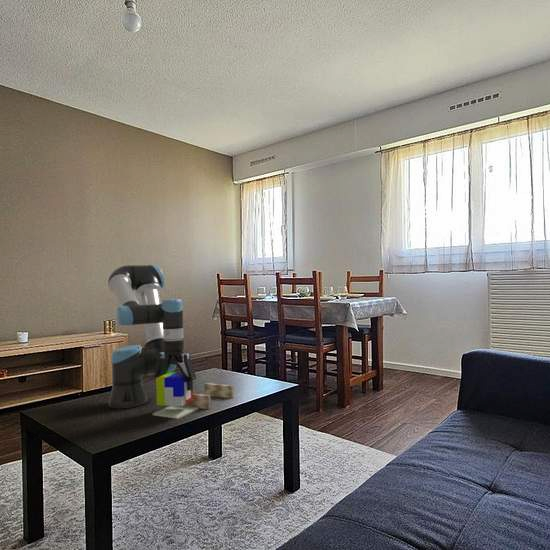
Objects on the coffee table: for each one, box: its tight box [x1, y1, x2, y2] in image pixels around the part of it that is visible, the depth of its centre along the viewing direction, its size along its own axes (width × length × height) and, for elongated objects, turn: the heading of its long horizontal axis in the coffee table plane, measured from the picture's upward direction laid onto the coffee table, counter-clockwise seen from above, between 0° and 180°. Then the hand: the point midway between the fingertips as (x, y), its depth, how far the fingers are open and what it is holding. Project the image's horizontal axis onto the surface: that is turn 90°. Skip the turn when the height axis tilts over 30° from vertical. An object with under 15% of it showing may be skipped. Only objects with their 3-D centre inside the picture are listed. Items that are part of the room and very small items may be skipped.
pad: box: [152, 406, 199, 420], centre depth 157 cm, size 12×12×1 cm
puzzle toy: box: [155, 371, 194, 407], centre depth 157 cm, size 10×10×10 cm
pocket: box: [183, 382, 234, 410], centre depth 170 cm, size 14×17×5 cm
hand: (175, 397), depth 157 cm, fingers closed on puzzle toy, 11 cm apart
